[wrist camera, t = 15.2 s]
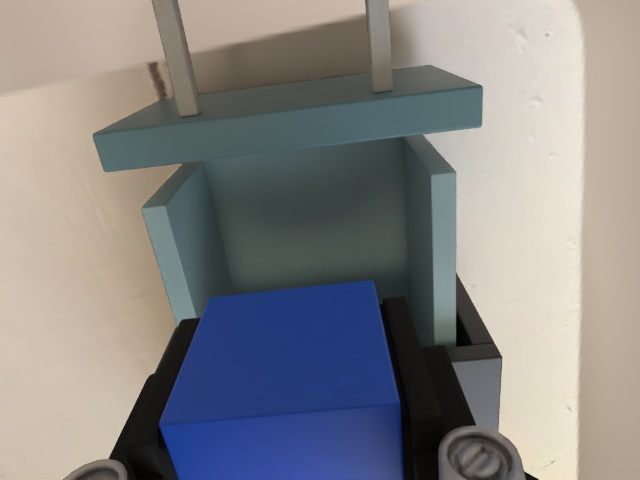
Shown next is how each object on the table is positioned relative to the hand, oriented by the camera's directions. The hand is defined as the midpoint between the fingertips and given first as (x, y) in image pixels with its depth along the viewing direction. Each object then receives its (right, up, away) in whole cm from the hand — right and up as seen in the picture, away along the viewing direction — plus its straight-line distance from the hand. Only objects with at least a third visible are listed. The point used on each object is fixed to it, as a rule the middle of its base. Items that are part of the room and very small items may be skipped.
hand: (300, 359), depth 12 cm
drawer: (0, +6, +10) cm, 11 cm away
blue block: (0, 0, 0) cm, 0 cm away
